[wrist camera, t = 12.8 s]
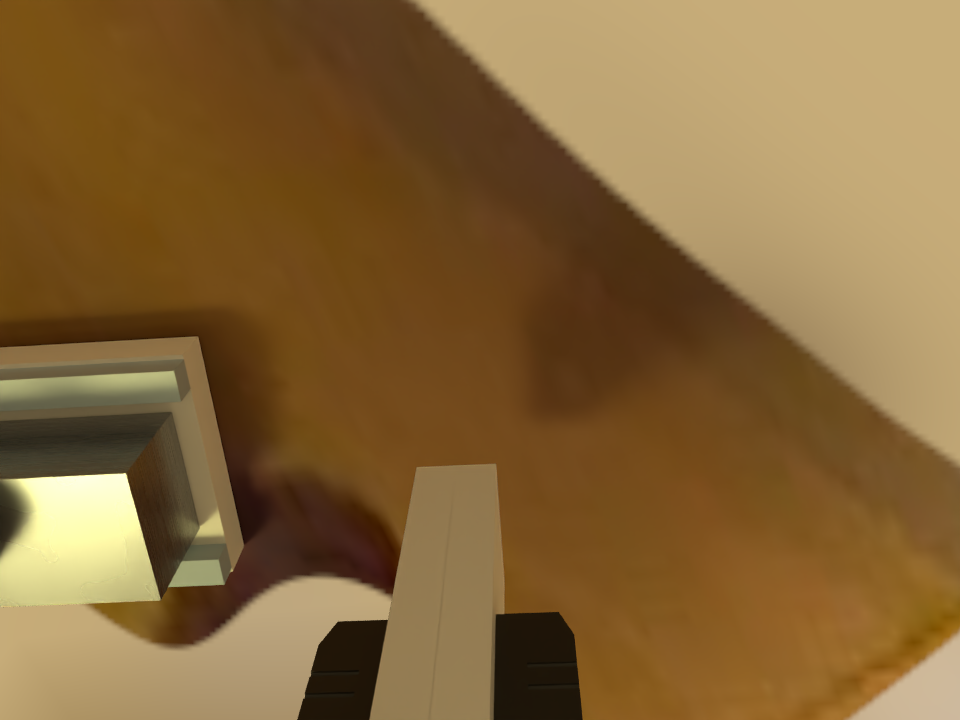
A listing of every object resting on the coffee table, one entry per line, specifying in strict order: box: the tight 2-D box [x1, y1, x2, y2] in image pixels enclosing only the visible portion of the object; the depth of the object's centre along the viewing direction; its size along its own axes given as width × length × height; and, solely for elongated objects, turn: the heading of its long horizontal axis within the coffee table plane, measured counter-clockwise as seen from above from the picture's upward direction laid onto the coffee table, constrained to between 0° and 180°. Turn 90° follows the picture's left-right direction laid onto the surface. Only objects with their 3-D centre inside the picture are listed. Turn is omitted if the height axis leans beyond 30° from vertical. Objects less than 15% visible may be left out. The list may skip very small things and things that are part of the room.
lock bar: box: [0, 412, 200, 607], centre depth 17 cm, size 6×3×4 cm, turn 94°
